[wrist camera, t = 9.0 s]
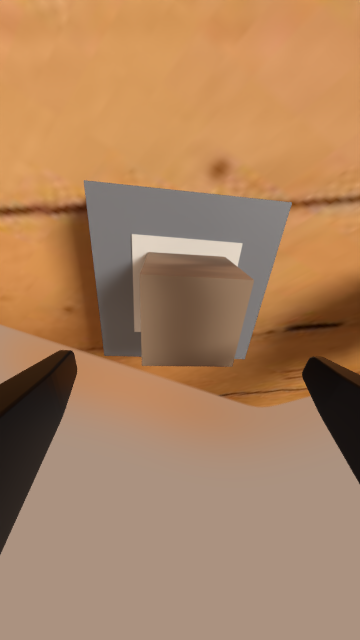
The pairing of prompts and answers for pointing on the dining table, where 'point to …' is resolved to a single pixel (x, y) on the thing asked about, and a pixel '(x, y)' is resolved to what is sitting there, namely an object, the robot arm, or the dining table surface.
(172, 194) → the plinth
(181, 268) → the walnut cube
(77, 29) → the dining table surface
